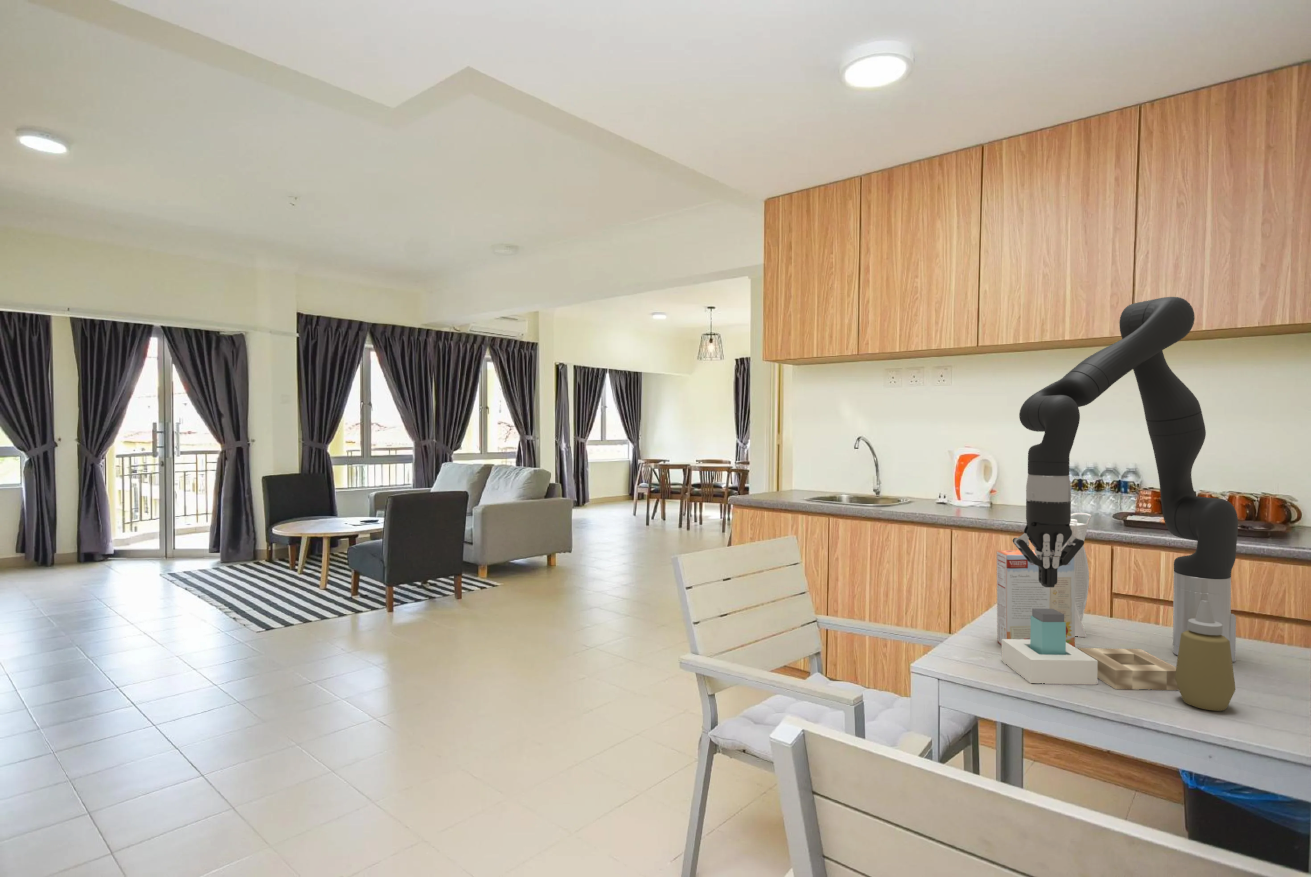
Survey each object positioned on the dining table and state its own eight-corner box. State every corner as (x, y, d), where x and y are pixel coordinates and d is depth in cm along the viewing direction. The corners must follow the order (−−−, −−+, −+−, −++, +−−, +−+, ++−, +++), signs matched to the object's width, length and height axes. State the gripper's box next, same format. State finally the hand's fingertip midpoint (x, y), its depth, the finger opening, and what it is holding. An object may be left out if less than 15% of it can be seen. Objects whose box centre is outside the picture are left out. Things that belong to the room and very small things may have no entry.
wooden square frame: (1139, 666, 133) (1140, 648, 133) (1183, 690, 121) (1183, 671, 121) (1077, 665, 134) (1077, 648, 134) (1115, 689, 122) (1115, 670, 122)
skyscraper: (1083, 629, 157) (1084, 511, 156) (1096, 639, 150) (1097, 515, 149) (1046, 627, 159) (1046, 510, 158) (1057, 637, 152) (1058, 514, 151)
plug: (1053, 668, 132) (1053, 608, 132) (1065, 676, 128) (1065, 614, 128) (1030, 668, 133) (1030, 608, 132) (1041, 676, 128) (1042, 614, 128)
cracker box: (1061, 643, 147) (1062, 549, 147) (1075, 652, 141) (1076, 554, 141) (995, 641, 149) (995, 548, 148) (1006, 650, 143) (1007, 553, 142)
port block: (1061, 661, 136) (1062, 638, 136) (1097, 684, 124) (1097, 659, 124) (1001, 660, 137) (1001, 637, 137) (1030, 683, 125) (1031, 658, 125)
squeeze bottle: (1162, 696, 119) (1163, 595, 118) (1204, 694, 119) (1205, 594, 119) (1203, 716, 111) (1204, 608, 110) (1248, 713, 111) (1249, 606, 111)
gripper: (1072, 496, 133) (1071, 582, 133) (1004, 496, 134) (1003, 581, 134) (1095, 500, 126) (1094, 591, 126) (1022, 500, 126) (1022, 591, 127)
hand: (1047, 586), depth 130 cm, fingers closed
